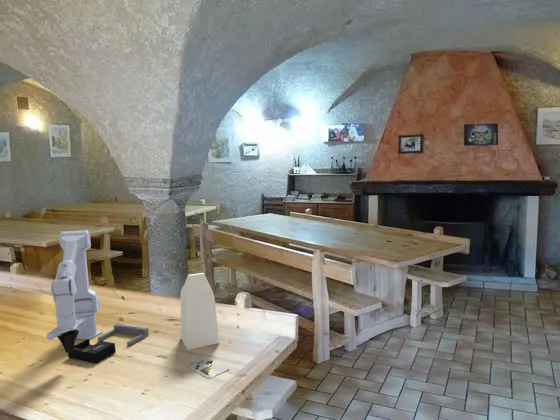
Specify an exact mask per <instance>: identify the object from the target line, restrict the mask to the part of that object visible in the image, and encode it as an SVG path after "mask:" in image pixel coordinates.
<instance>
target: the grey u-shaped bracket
mask: <svg viewBox="0 0 560 420" xmlns="http://www.w3.org/2000/svg"><path fill="white" fill-rule="evenodd" d="M116 334H123V335H127V336H128V335H129V336H135V337H134V338H131V339H130V340H129V341H126V346H127V347H132V346H133V345H134V344H137V343H138V342H140V341H142V340H143V339H145V338H146V337H148V336H149V335H150V334H149V327H143V326H137V325H131V324H124V323H123V324H122V323H116V324H114V325H113V329H112V330H110V331H107V332H106V333H104V334H102V335H101V334H100V336H99V335H98V336H97V342H100V341H104V340H106V339H109V338H110V337H111V336H113V335H116Z"/></svg>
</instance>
